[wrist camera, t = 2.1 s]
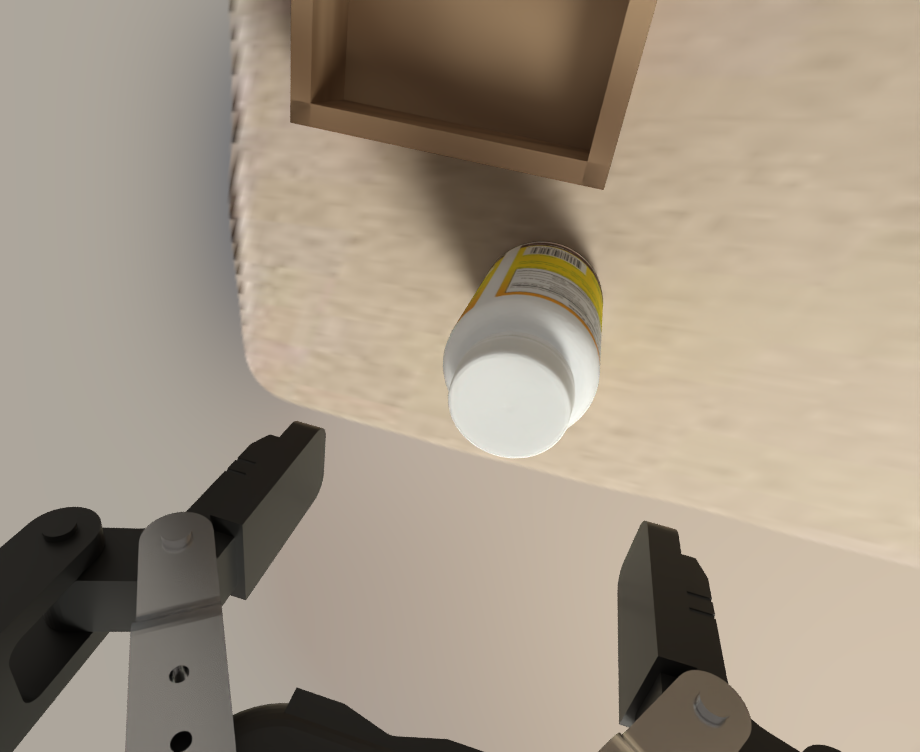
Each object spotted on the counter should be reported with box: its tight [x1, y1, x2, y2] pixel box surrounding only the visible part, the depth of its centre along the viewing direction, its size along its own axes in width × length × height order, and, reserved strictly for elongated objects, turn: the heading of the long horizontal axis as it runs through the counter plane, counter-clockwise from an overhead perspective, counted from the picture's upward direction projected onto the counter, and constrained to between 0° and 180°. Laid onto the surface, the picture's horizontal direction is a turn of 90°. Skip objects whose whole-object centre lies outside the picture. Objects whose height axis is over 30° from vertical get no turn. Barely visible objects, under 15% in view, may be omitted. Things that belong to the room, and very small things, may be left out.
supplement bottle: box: [443, 242, 603, 458], centre depth 22 cm, size 6×6×10 cm
